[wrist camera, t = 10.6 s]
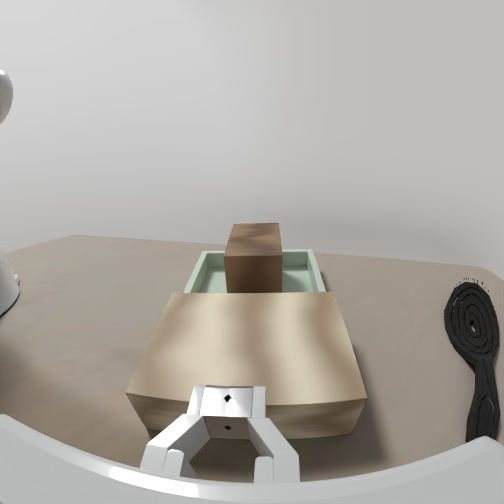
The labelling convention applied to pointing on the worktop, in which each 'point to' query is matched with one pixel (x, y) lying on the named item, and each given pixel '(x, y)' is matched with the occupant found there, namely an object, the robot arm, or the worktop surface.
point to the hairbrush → (476, 353)
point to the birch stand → (253, 359)
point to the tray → (293, 273)
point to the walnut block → (254, 259)
